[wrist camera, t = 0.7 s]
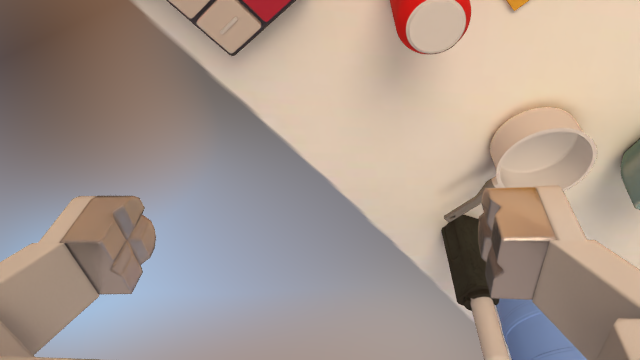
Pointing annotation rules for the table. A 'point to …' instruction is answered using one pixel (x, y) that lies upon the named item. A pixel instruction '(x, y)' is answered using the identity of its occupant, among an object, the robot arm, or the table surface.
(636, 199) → the flower pot
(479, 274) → the candle
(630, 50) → the table surface
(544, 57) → the table surface
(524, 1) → the cloth
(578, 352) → the water jug
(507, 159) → the saucepan
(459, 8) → the beverage can
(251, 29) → the calculator
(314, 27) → the table surface
